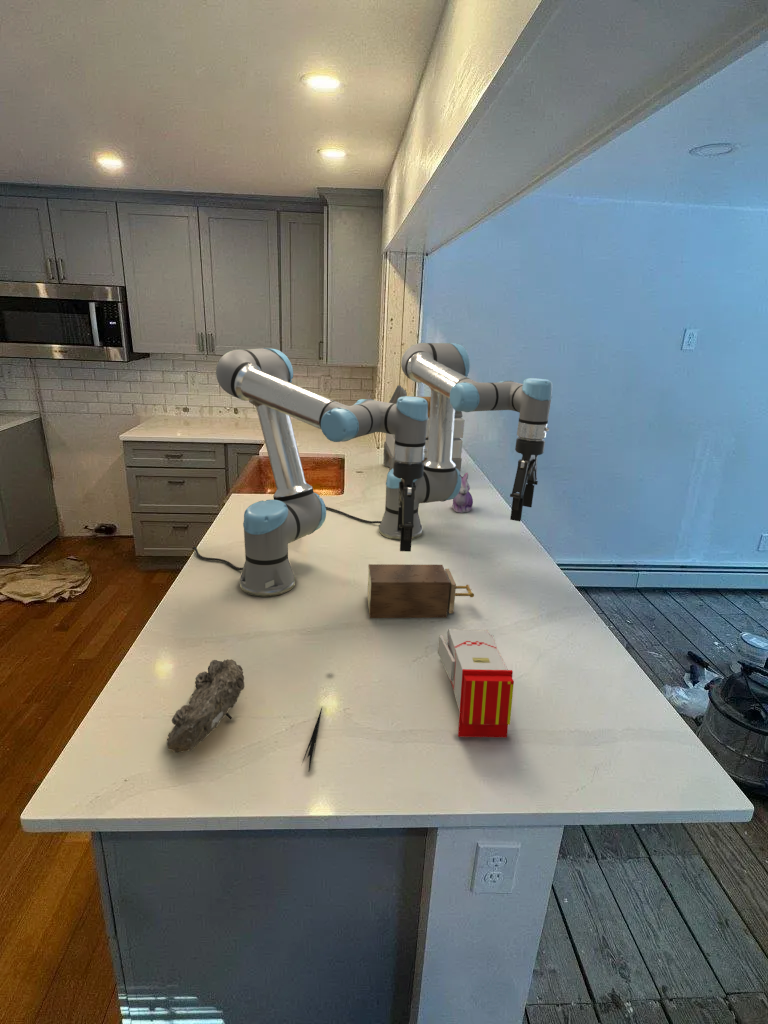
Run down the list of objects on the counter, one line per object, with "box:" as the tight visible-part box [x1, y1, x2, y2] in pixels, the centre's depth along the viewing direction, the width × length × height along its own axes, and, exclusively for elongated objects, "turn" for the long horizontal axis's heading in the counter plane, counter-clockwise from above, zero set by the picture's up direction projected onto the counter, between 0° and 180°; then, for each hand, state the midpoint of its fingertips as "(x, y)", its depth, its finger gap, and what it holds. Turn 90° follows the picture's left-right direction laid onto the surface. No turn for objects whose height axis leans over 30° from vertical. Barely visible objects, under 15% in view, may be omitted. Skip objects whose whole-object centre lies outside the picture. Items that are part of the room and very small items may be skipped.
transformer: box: [383, 384, 465, 475], centre depth 268 cm, size 34×33×41 cm
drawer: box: [444, 568, 475, 614], centre depth 150 cm, size 24×9×8 cm, turn 95°
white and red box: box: [437, 628, 515, 738], centre depth 117 cm, size 12×13×30 cm
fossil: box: [166, 658, 245, 754], centre depth 106 cm, size 22×10×15 cm
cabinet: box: [366, 563, 450, 619], centre depth 149 cm, size 20×10×10 cm, turn 95°
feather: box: [301, 673, 332, 771], centre depth 108 cm, size 2×28×2 cm
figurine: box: [451, 472, 474, 514], centre depth 225 cm, size 9×10×15 cm
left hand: (403, 540), depth 147 cm, fingers open, 13 cm apart
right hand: (521, 513), depth 158 cm, fingers open, 13 cm apart
